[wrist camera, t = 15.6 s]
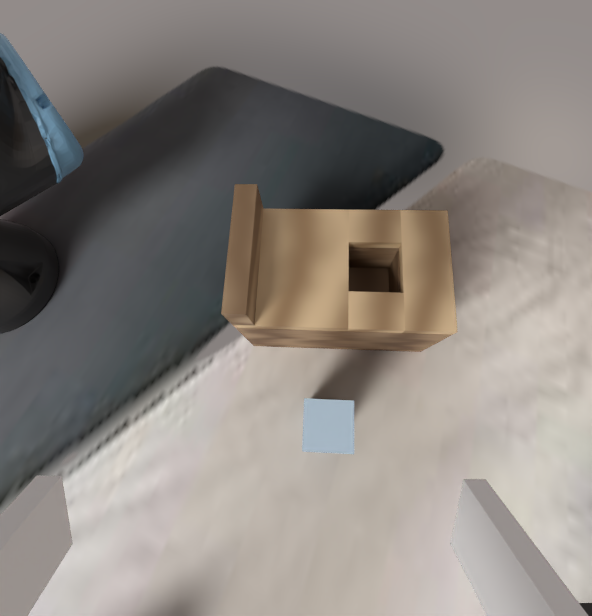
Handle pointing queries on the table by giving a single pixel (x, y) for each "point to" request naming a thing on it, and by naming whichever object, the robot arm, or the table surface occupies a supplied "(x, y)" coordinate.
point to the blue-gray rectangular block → (328, 426)
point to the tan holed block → (335, 269)
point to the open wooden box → (362, 278)
